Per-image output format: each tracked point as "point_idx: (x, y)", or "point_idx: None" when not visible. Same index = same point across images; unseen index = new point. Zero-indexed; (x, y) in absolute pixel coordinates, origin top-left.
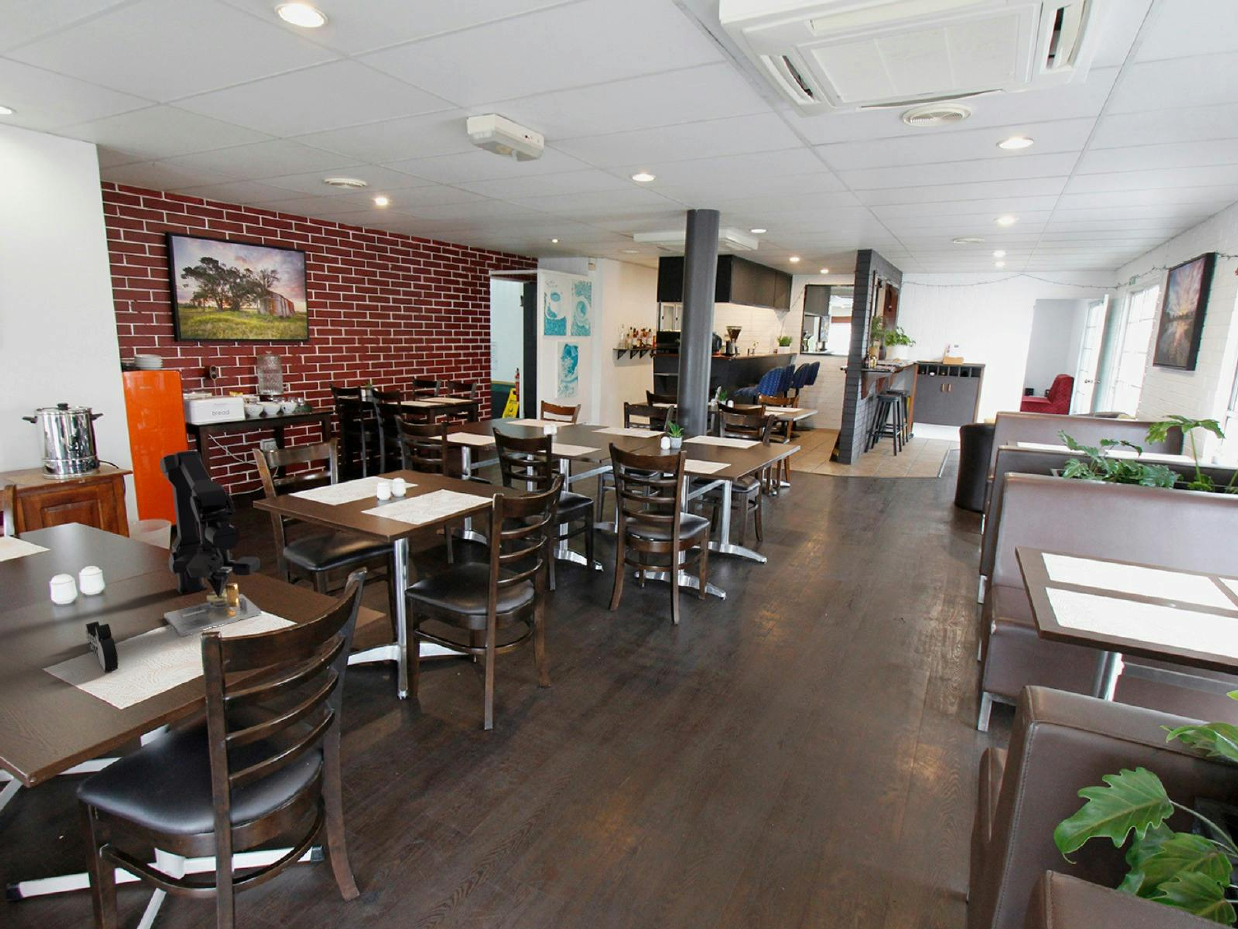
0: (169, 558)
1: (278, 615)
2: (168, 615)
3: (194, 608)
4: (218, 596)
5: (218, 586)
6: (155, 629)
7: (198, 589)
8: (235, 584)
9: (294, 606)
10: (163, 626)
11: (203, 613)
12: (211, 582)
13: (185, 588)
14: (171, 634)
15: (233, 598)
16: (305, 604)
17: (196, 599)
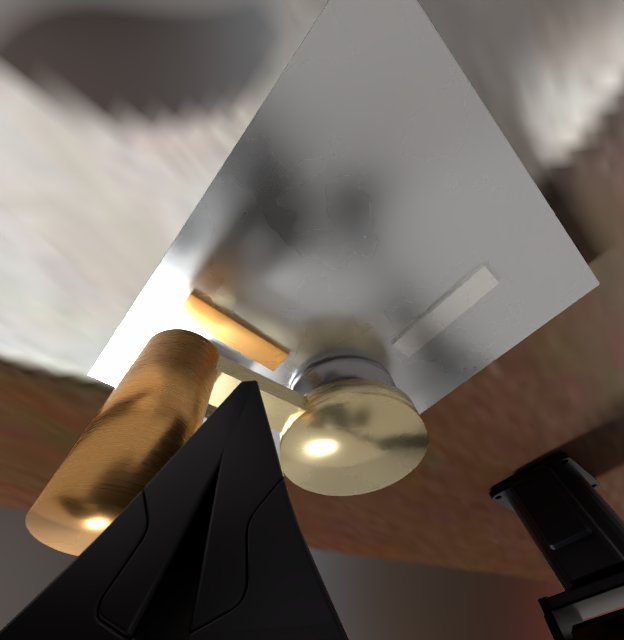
0: None
1: (4, 362)
2: (569, 262)
3: (459, 352)
4: (249, 382)
5: (174, 482)
6: (592, 114)
7: (516, 483)
8: (67, 543)
9: (36, 440)
10: (553, 167)
11: (380, 307)
12: (258, 549)
13: (566, 480)
14: (457, 27)
15: (119, 384)
16: (8, 458)
17: (495, 434)
